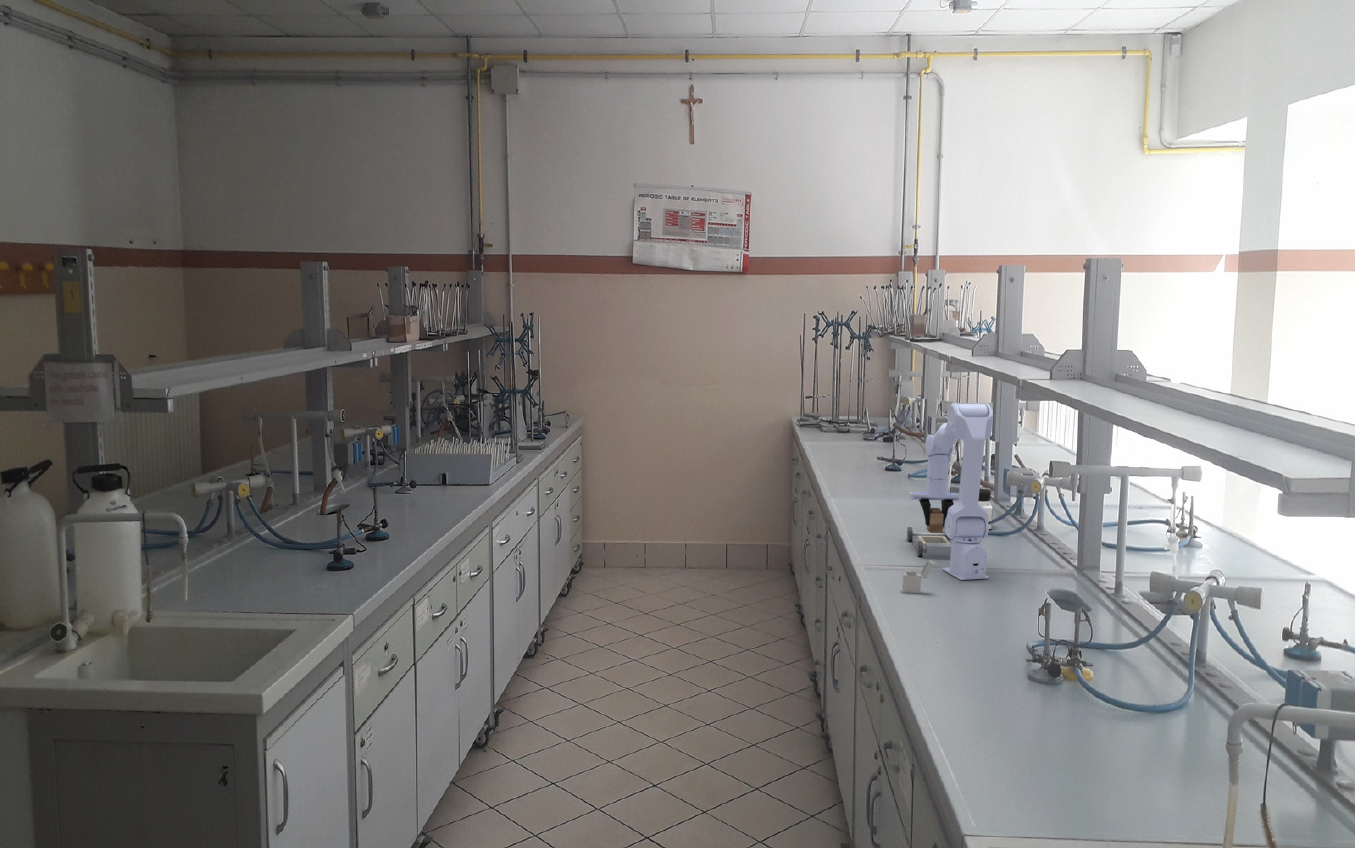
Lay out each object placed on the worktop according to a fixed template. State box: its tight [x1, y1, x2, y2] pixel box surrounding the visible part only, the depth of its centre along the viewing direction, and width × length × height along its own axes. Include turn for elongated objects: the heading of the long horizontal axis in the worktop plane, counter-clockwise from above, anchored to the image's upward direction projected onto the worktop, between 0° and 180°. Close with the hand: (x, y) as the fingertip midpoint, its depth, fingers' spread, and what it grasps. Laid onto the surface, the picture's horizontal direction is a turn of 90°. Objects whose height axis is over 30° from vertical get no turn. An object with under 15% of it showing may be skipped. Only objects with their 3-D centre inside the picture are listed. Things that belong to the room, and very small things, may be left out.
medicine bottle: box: [978, 487, 994, 529], centre depth 298 cm, size 7×7×12 cm
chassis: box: [906, 526, 951, 560], centre depth 272 cm, size 22×12×4 cm, turn 176°
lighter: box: [901, 559, 935, 594], centre depth 232 cm, size 7×2×8 cm, turn 84°
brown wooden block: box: [926, 507, 944, 533], centre depth 272 cm, size 4×4×6 cm
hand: (934, 525), depth 272 cm, fingers closed on brown wooden block, 4 cm apart
